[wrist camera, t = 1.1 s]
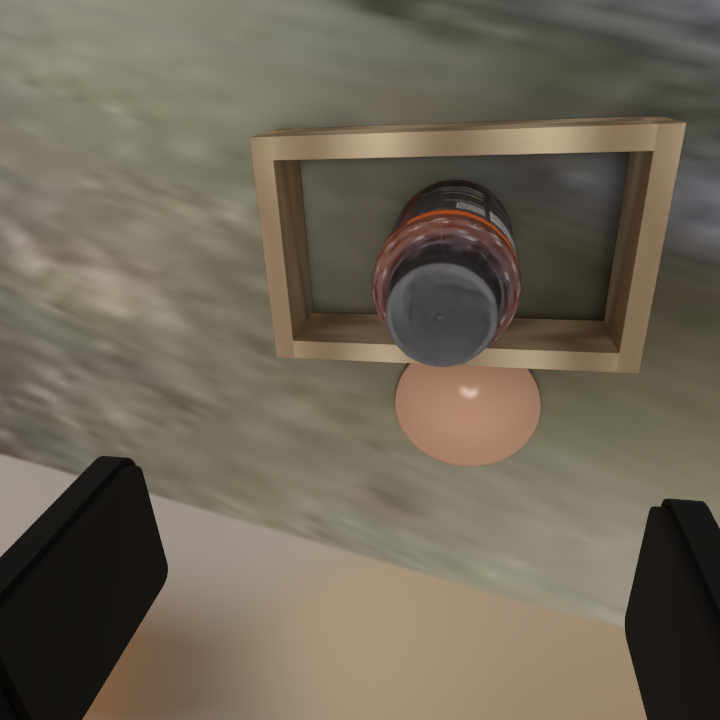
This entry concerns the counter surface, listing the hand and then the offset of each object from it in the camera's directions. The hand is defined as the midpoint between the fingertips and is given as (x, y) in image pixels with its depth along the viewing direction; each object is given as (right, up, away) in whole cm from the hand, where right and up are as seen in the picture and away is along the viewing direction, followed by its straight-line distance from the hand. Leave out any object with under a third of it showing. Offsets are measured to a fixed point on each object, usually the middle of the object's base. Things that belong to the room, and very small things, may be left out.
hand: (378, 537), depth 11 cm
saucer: (+6, +1, +24) cm, 24 cm away
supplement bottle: (+5, +10, +20) cm, 22 cm away
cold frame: (+4, +10, +19) cm, 22 cm away
